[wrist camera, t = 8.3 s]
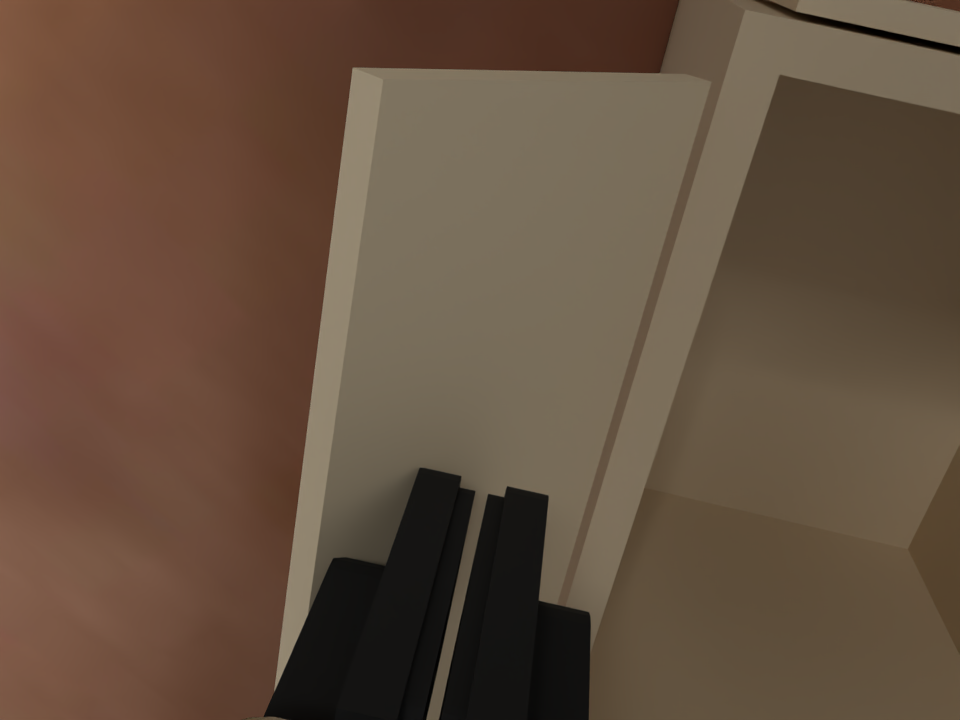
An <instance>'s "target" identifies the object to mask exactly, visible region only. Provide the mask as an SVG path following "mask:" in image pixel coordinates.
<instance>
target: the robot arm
mask: <svg viewBox="0 0 960 720" xmlns="http://www.w3.org/2000/svg"><path fill="white" fill-rule="evenodd" d="M461 477H462V476H459V475H455V474H450V473H446V472H441V471H437V470H432V469H428V468H419V471H418V473H417V476H416V479H415V482H414V485H413V488H412V491H411V494H410V496H409V499H408V502H407V505H406V508H405V511H404V514H403V517H402V519H401V522H400V525H399V528H398V531H397V534H396V537H395V540H394V543H393V545H392V548H391V551H390V554H389V557H388V560H387V563H386V566H383V565H378V564H374V563H370V562H365V561H361V560H356V559H352V558H347V557H341V558H333V560H332V562H331V563H330V565H329V568H328V570H327V572H326V574H325V577H324V579H323V581H322V584H321V586H320V588H319V591H318V593H317V595H316V597H315V600H314V602H313V604H312V607H311V609H310V611H309V614H308V616H307V618H306V620H305V623H304V625H303V627H302V630H301V632H300V634H299V636H298V639H297V641H296V643H295V646H294V648H293V650H292V653H291V655H290V657H289V659H288V662H287V664H286V666H285V669H284V671H283V673H282V676H281V678H280V680H279V682H278V685H277V687H276V689H275V692H274V694H273V696H272V699H271V701H270V703H269V705H268V708H267V710H266V712H265V715H264V717H250V718H246V719H243V720H426V719H427V715H428V710H429V706H430V701H431V697H432V693H433V688H434V684H435V679H436V675H437V670H438V666H439V661H440V657H441V652H442V647H443V643H444V638H445V633H446V629H447V624H448V619H449V615H450V610H451V605H452V600H453V596H454V591H455V586H456V582H457V577H458V572H459V567H460V563H461V558H462V553H463V549H464V544H465V539H466V534H467V530H468V525H469V520H470V516H471V511H472V506H473V501H474V497H475V492H476V491H474V490H469V489H465V488H460V484H461ZM548 501H549V496H548V495H545V494H541V493H536V492H532V491H527V490H523V489H518V488H514V487H509V486H507V488H506V491H505V495H504V497H501V496H497V495H492V494H488V496H487V501H486V505H485V510H484V514H483V519H482V523H481V528H480V533H479V537H478V542H477V546H476V551H475V555H474V560H473V564H472V569H471V574H470V578H469V583H468V587H467V592H466V596H465V601H464V605H463V610H462V614H461V619H460V624H459V628H458V633H457V637H456V642H455V646H454V651H453V655H452V660H451V665H450V669H449V674H448V679H447V683H446V688H445V693H444V698H443V702H442V707H441V712H440V717H439V720H589V689H590V641H591V617H590V613H589V612H587V611H583V610H578V609H574V608H569V607H565V606H560V605H556V604H552V603H547V602H543V601H539V592H540V582H541V572H542V562H543V552H544V542H545V532H546V522H547V511H548Z"/></svg>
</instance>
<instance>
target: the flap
mask: <svg viewBox="0 0 960 720" xmlns="http://www.w3.org/2000/svg"><path fill="white" fill-rule="evenodd" d="M710 86H711V81H707V80H704V79H701V78H697V77H694V76H691V75H687V74H662V73H610V72H558V71H506V70H454V69H402V68H353V70H352V78H351V86H350V94H349V102H348V110H347V118H346V126H345V134H344V142H343V150H342V157H341V165H340V173H339V181H338V189H337V197H336V205H335V213H334V221H333V229H332V237H331V245H330V253H329V261H328V269H327V277H326V285H325V292H324V300H323V308H322V316H321V324H320V332H319V340H318V348H317V356H316V364H315V372H314V380H313V388H312V396H311V404H310V412H309V419H308V427H307V435H306V443H305V451H304V459H303V467H302V475H301V483H300V491H299V499H298V507H297V515H296V523H295V531H294V539H293V547H292V554H291V562H290V570H289V578H288V586H287V594H286V602H285V610H284V618H283V626H282V634H281V642H280V650H279V658H278V666H277V674H276V681H275V689H276V687H277V685H278V682H279V680H280V678H281V676H282V673H283V671H284V669H285V666H286V664H287V662H288V659H289V657H290V655H291V653H292V650H293V648H294V646H295V643H296V641H297V639H298V636H299V634H300V632H301V630H302V627H303V625H304V623H305V620H306V618H307V616H308V614H309V611H310V609H311V607H312V604H313V602H314V600H315V597H316V595H317V593H318V591H319V588H320V586H321V584H322V581H323V579H324V577H325V574H326V572H327V570H328V568H329V565H330V563H331V562H332V560H333V558H341V557H347V558H352V559H356V560H361V561H365V562H370V563H374V564H378V565H383V566H386V563H387V560H388V557H389V554H390V551H391V548H392V545H393V543H394V540H395V537H396V534H397V531H398V528H399V525H400V522H401V519H402V517H403V514H404V511H405V508H406V505H407V502H408V499H409V496H410V494H411V491H412V488H413V485H414V482H415V479H416V476H417V473H418V471H419V468H428V469H432V470H437V471H441V472H446V473H450V474H455V475H459V476H462V477H461V484H460V488H465V489H469V490H474V491H476V492H475V497H474V501H473V506H472V511H471V516H470V520H469V525H468V530H467V534H466V539H465V544H464V549H463V553H462V558H461V563H460V567H459V572H458V577H457V582H456V586H455V591H454V596H453V600H452V605H451V610H450V615H449V619H448V624H447V629H446V633H445V638H444V643H443V647H442V652H441V657H440V661H439V666H438V670H437V675H436V679H435V684H434V688H433V693H432V697H431V701H430V706H429V710H428V715H427V719H426V720H439V717H440V712H441V707H442V702H443V698H444V693H445V688H446V683H447V679H448V674H449V669H450V665H451V660H452V655H453V651H454V646H455V642H456V637H457V633H458V628H459V624H460V619H461V614H462V610H463V605H464V601H465V596H466V592H467V587H468V583H469V578H470V574H471V569H472V564H473V560H474V555H475V551H476V546H477V542H478V537H479V533H480V528H481V523H482V519H483V514H484V510H485V505H486V501H487V496H488V494H492V495H497V496H501V497H504V495H505V491H506V488H507V486H509V487H514V488H518V489H523V490H527V491H532V492H536V493H541V494H545V495H548V496H549V501H548V511H547V522H546V532H545V542H544V552H543V562H542V572H541V582H540V592H539V601H543V602H547V603H552V604H556V605H557V603H558V599H559V596H560V593H561V589H562V586H563V582H564V579H565V576H566V572H567V569H568V565H569V562H570V559H571V555H572V552H573V549H574V545H575V542H576V538H577V535H578V532H579V528H580V525H581V522H582V518H583V515H584V511H585V508H586V505H587V501H588V498H589V495H590V491H591V488H592V484H593V481H594V478H595V474H596V471H597V467H598V464H599V461H600V457H601V454H602V451H603V447H604V444H605V440H606V437H607V434H608V430H609V427H610V424H611V420H612V417H613V413H614V410H615V407H616V403H617V400H618V397H619V393H620V390H621V386H622V383H623V380H624V376H625V373H626V369H627V366H628V363H629V359H630V356H631V353H632V349H633V346H634V342H635V339H636V336H637V332H638V329H639V326H640V322H641V319H642V315H643V312H644V309H645V305H646V302H647V299H648V295H649V292H650V288H651V285H652V282H653V278H654V275H655V271H656V268H657V265H658V261H659V258H660V255H661V251H662V248H663V244H664V241H665V238H666V234H667V231H668V228H669V224H670V221H671V217H672V214H673V211H674V207H675V204H676V201H677V197H678V194H679V190H680V187H681V184H682V180H683V177H684V173H685V170H686V167H687V163H688V160H689V157H690V153H691V150H692V146H693V143H694V140H695V136H696V133H697V130H698V126H699V123H700V119H701V116H702V113H703V109H704V106H705V103H706V99H707V96H708V92H709V89H710ZM275 689H274V692H275Z"/></svg>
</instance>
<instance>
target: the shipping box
mask: <svg viewBox="0 0 960 720" xmlns="http://www.w3.org/2000/svg"><path fill="white" fill-rule="evenodd" d="M660 73H662V74H687V75H691V76H694V77H697V78H701V79H704V80H707V81H711V86H710V89H709V92H708V96H707V99H706V103H705V106H704V109H703V113H702V116H701V119H700V123H699V126H698V130H697V133H696V136H695V140H694V143H693V146H692V150H691V153H690V157H689V160H688V163H687V167H686V170H685V173H684V177H683V180H682V184H681V187H680V190H679V194H678V197H677V201H676V204H675V207H674V211H673V214H672V217H671V221H670V224H669V228H668V231H667V234H666V238H665V241H664V244H663V248H662V251H661V255H660V258H659V261H658V265H657V268H656V271H655V275H654V278H653V282H652V285H651V288H650V292H649V295H648V299H647V302H646V305H645V309H644V312H643V315H642V319H641V322H640V326H639V329H638V332H637V336H636V339H635V342H634V346H633V349H632V353H631V356H630V359H629V363H628V366H627V369H626V373H625V376H624V380H623V383H622V386H621V390H620V393H619V397H618V400H617V403H616V407H615V410H614V413H613V417H612V420H611V424H610V427H609V430H608V434H607V437H606V440H605V444H604V447H603V451H602V454H601V457H600V461H599V464H598V467H597V471H596V474H595V478H594V481H593V484H592V488H591V491H590V495H589V498H588V501H587V505H586V508H585V511H584V515H583V518H582V522H581V525H580V528H579V532H578V535H577V538H576V542H575V545H574V549H573V552H572V555H571V559H570V562H569V565H568V569H567V572H566V576H565V579H564V582H563V586H562V589H561V593H560V596H559V599H558V603H557V605H560V606H565V607H569V608H574V609H578V610H583V611H587V612H589V613H590V617H591V641H590V689H589V720H960V11H955V10H951V9H946V8H941V7H937V6H932V5H927V4H923V3H918V2H913V1H909V0H679V3H678V7H677V11H676V14H675V18H674V22H673V25H672V29H671V33H670V36H669V40H668V44H667V48H666V51H665V55H664V59H663V62H662V66H661V70H660Z"/></svg>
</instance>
